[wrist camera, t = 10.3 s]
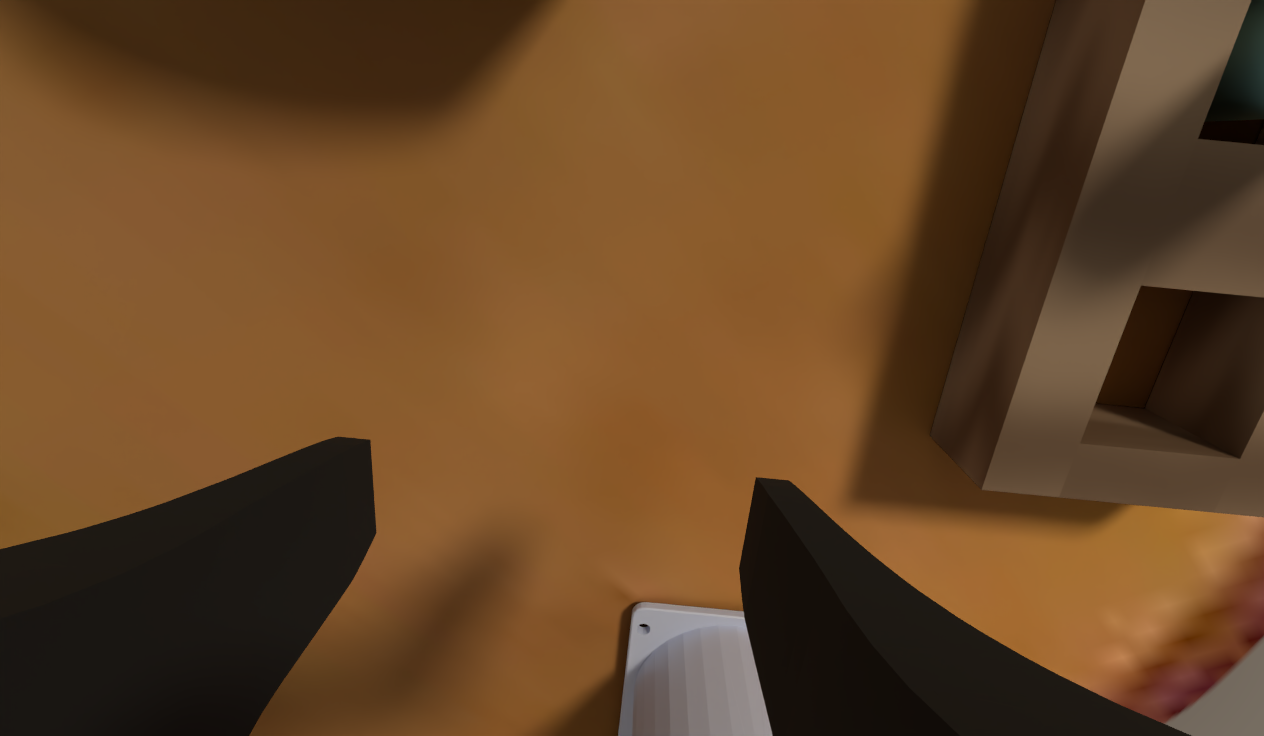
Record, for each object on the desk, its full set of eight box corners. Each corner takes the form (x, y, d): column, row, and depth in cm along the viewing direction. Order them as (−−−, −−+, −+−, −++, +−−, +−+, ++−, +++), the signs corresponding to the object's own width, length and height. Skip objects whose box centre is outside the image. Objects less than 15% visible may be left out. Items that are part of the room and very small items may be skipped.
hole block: (1190, 461, 21) (1290, 519, 18) (929, 435, 21) (981, 489, 18) (1448, -97, 15) (1665, -164, 12) (1094, -131, 15) (1214, -208, 12)
